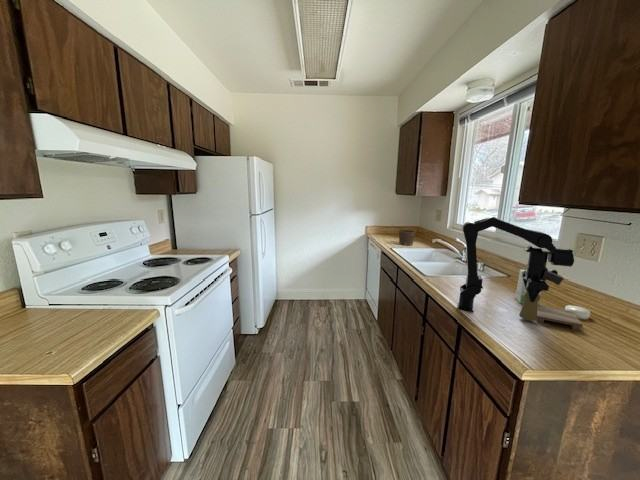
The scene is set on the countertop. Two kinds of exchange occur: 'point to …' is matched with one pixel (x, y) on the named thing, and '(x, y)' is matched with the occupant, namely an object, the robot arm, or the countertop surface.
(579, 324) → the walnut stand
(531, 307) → the olive pestle
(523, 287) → the skincare box
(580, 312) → the white rounded piece
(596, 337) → the countertop surface
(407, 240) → the plant pot
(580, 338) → the countertop surface
